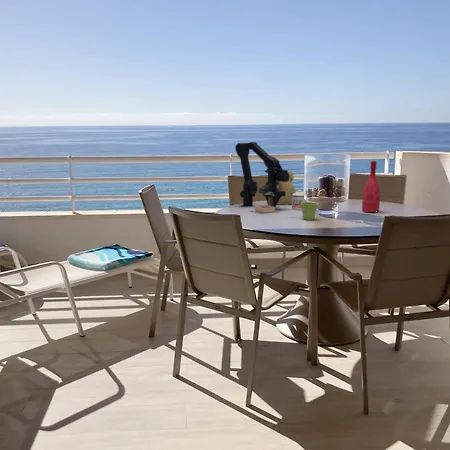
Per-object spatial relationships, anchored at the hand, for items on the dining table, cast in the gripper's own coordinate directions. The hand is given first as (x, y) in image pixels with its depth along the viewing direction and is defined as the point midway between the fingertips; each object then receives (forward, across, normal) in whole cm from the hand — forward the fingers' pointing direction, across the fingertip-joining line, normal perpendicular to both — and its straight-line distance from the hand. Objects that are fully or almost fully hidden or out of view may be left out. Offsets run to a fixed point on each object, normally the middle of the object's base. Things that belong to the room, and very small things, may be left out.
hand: (271, 206), depth 301 cm
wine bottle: (+2, +34, +47) cm, 58 cm away
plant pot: (+2, +34, -1) cm, 34 cm away
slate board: (+2, +7, -11) cm, 13 cm away
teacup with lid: (+2, +7, +17) cm, 19 cm away
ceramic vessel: (+2, -17, +22) cm, 28 cm away
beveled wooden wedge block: (+2, 0, 0) cm, 2 cm away
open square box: (+1, +8, -11) cm, 14 cm away
